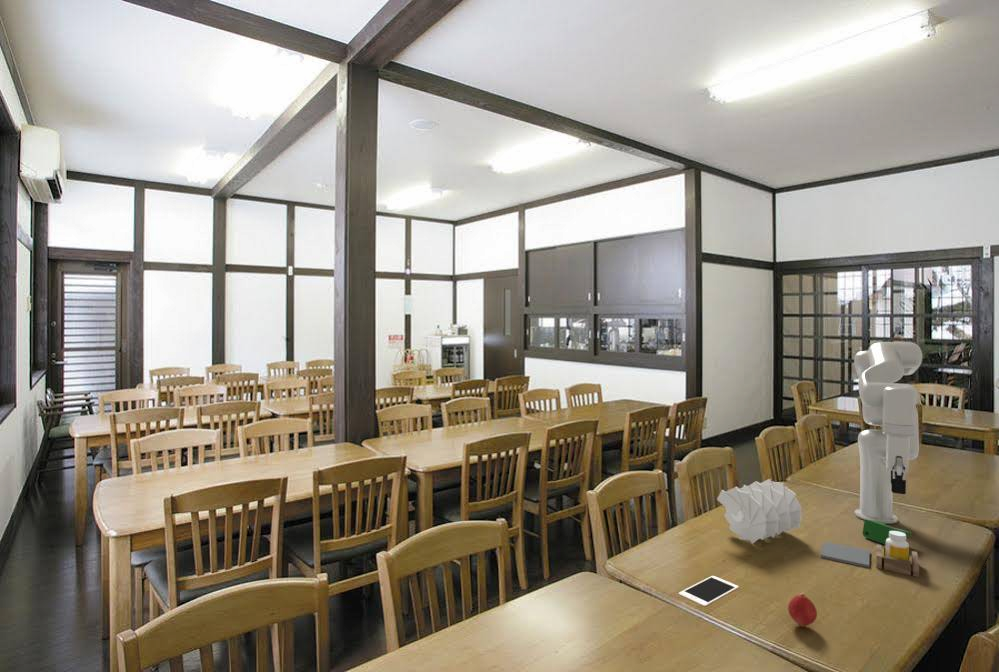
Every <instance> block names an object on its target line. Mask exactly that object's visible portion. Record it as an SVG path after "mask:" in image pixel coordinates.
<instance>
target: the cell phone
mask: <svg viewBox="0 0 999 672" xmlns="http://www.w3.org/2000/svg"><path fill="white" fill-rule="evenodd" d="M739 588H740V587H739V585H737V584H735V583H733V582H730V581H727V580H725V579H723V578H721V577H718V576H715V575H711V576H709V577H707V578H705V579H702V580H701V581H699V582H697V583H695V584H693V585H690V587H689V586H688V587H687V588H685V589H683V590H681V591H679V592H678V595H680V596H682V597H684V598H686V599H688V600H690V601H692V602H695V603H696V604H699V605H700V606H703V607H707V606H708V605H710V604H712V603H714V602H716V601H717V600H719V599H721V598H724V596H726V595H729V594H730V593H732V592H734V591H735V590H737V589H739Z"/></svg>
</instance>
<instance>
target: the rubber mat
mask: <svg viewBox="0 0 999 672" xmlns="http://www.w3.org/2000/svg"><path fill="white" fill-rule="evenodd" d="M820 551H821V552H820V558H821V559H826V560H829V561H830V560H831V561H835V562H840V563H844V564H850V565H854V566H858V567H864V568H867V569H869V568H870V555H871V553H870V552H871V551H870V549H865V548H860V547H856V546H850V545H847V544H846V545H845V544H839V543H834V542H830V541H825V540H824V541H823V542H822V546H821V550H820Z"/></svg>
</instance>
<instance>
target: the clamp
mask: <svg viewBox="0 0 999 672" xmlns="http://www.w3.org/2000/svg"><path fill="white" fill-rule="evenodd" d="M863 522H864V523H863V527H862V528H863V529H862V536H863V537H864V538H866V539H869V540H872V541H875V542H877V543H879V544H883V545H884V546H886V539H887V538H890V537H889V531H899V532H902V533H905V534H906V538H911V536H912V532H911V531H909V530H906V529H903V528H897V527H892V526H891V525H887V524H884V523H881V522H878V521H873V520H866V519H865V520H863Z"/></svg>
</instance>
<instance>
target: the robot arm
mask: <svg viewBox="0 0 999 672" xmlns="http://www.w3.org/2000/svg"><path fill="white" fill-rule="evenodd" d="M922 362H923V353H922V350H921V347H920V346H919V345H918V344H916V343H914V342H912V341H911V342H910V341H878V342H876V343H873V344H871V345H870V346H869V347H868V349H867V350H861V351H858V352H857V353H856V354H855V355H854V361H853V363H854V368H855V372H856V375H857V377H858V382H857V383H858V386H857V387H858V394H859V399H860V402H861V403H862V404H861V405H862V406H861V407H862V418H863V421H864V423H865V424H868V425H871V426H877V427H882V429H865V430H862V431H860V432H859V433H858V436H857V446H858V451H859V459H860V460H859V461H860V463H859V465H860V469H859V470H860V471H859V473H860V476H859V477H860V478H859V481H860V482H859V483H860V484H859V485H860V486H859V508H857V509H855V510H854V515H855V516H856V517H857V518H859V519H861V520H863V521H865V519H866V520H873V521H878V522H881V523H884V524H886V525H887V524H888V525H889V524H891V525H892V524H896V523H898V521H899V520H898V516H896V515H895V514H894V513H893V496H894V495H893V494H899V495H906V492H907V480H906V472H908V471H909V463H910V460H916V458H918V456H919V452H920V437H919V434H920V433H919V415H918V410H917V409H918V408H917V407H916V405H918V404H919V398H920V396H919V391H918V390H917V389H916V387H915V386H914V385H912V384H909V383H896V382H898V381H899V380H901V379H902V378H903V376H910V375H913V374H914V373H915V372H916V371H917V370H918V369H919V368H920V366H921V364H922Z"/></svg>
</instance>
